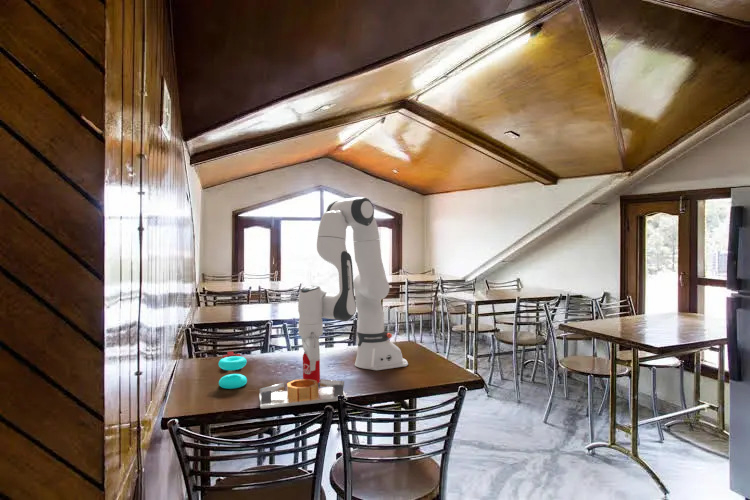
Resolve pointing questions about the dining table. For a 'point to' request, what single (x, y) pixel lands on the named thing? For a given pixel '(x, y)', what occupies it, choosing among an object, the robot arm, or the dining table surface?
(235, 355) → the mechanical linkage
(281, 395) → the coupling base
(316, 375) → the beverage can
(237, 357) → the donuts
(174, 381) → the dining table surface
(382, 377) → the dining table surface
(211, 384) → the dining table surface
